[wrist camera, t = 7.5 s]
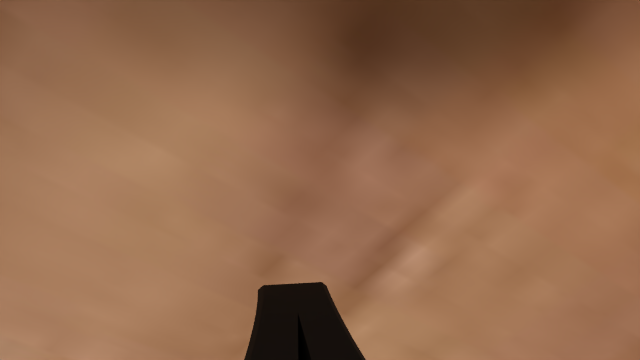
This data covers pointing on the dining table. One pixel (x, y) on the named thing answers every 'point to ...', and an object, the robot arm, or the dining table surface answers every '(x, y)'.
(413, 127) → the dining table surface
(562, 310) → the dining table surface
